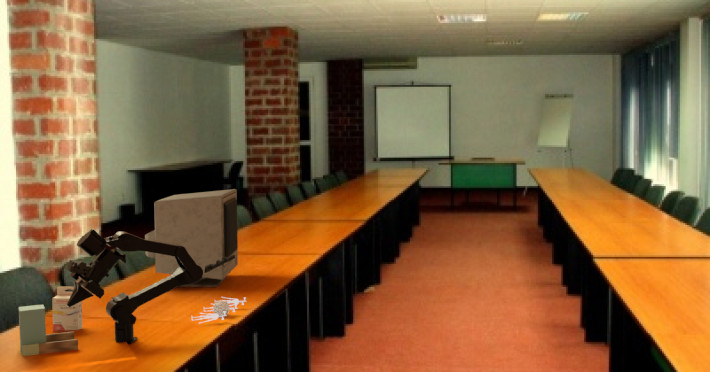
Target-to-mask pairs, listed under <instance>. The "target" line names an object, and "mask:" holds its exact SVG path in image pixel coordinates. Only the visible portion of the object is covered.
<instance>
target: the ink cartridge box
mask: <svg viewBox="0 0 710 372" xmlns="http://www.w3.org/2000/svg"><path fill="white" fill-rule="evenodd" d="M67 290H69V291H67ZM70 290H71V291H70ZM73 290H74V285H73V286H71V285H69V286H56V293H57V294H56V295H55V296H54V297H52V299H51V300H52V301H51V302H52V305H51V306H52V309H51V310H52V311H51V312H52V332H53V333H54V332H55V333H56V332H66V331H79V330H82V329H83V301H81V302H79V303H77V304H75V305H73V306H71V307H69V306H68V305H67V303H68V301H69V299H70V297H71V294H72V292H73Z"/></svg>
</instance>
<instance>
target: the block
mask: <svg viewBox="0 0 710 372" xmlns="http://www.w3.org/2000/svg"><path fill="white" fill-rule="evenodd" d="M45 310H46V307H45V306H44V304H34V305H26V306H25V305H24V306H18V324H19V325H18V326H19V327H18V328H19V344H20V346H19V347H20V354H21V355H22V345H30V344H39V343H46V334H47V331H46V330H47V329H46V311H45Z"/></svg>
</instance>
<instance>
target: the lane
mask: <svg viewBox="0 0 710 372" xmlns="http://www.w3.org/2000/svg"><path fill="white" fill-rule="evenodd" d="M76 350H79V340H78V338H76V339H75V330H72V331H67V332H66V331H63V332H58V333H56V332H55V333H48V334H47V333H46V343H39V354H38V355H43V354H50V353H51V354H52V353H53V354H54V353H61V352H68V351H69V352H70V351H76Z"/></svg>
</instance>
